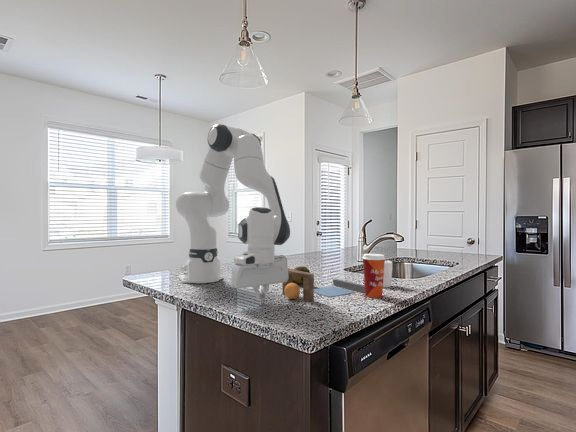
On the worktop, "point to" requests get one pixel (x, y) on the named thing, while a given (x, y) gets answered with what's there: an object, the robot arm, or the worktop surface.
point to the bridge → (307, 283)
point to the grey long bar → (349, 285)
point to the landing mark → (332, 291)
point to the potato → (296, 278)
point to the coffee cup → (373, 274)
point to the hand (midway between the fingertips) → (261, 298)
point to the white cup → (387, 274)
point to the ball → (292, 290)
